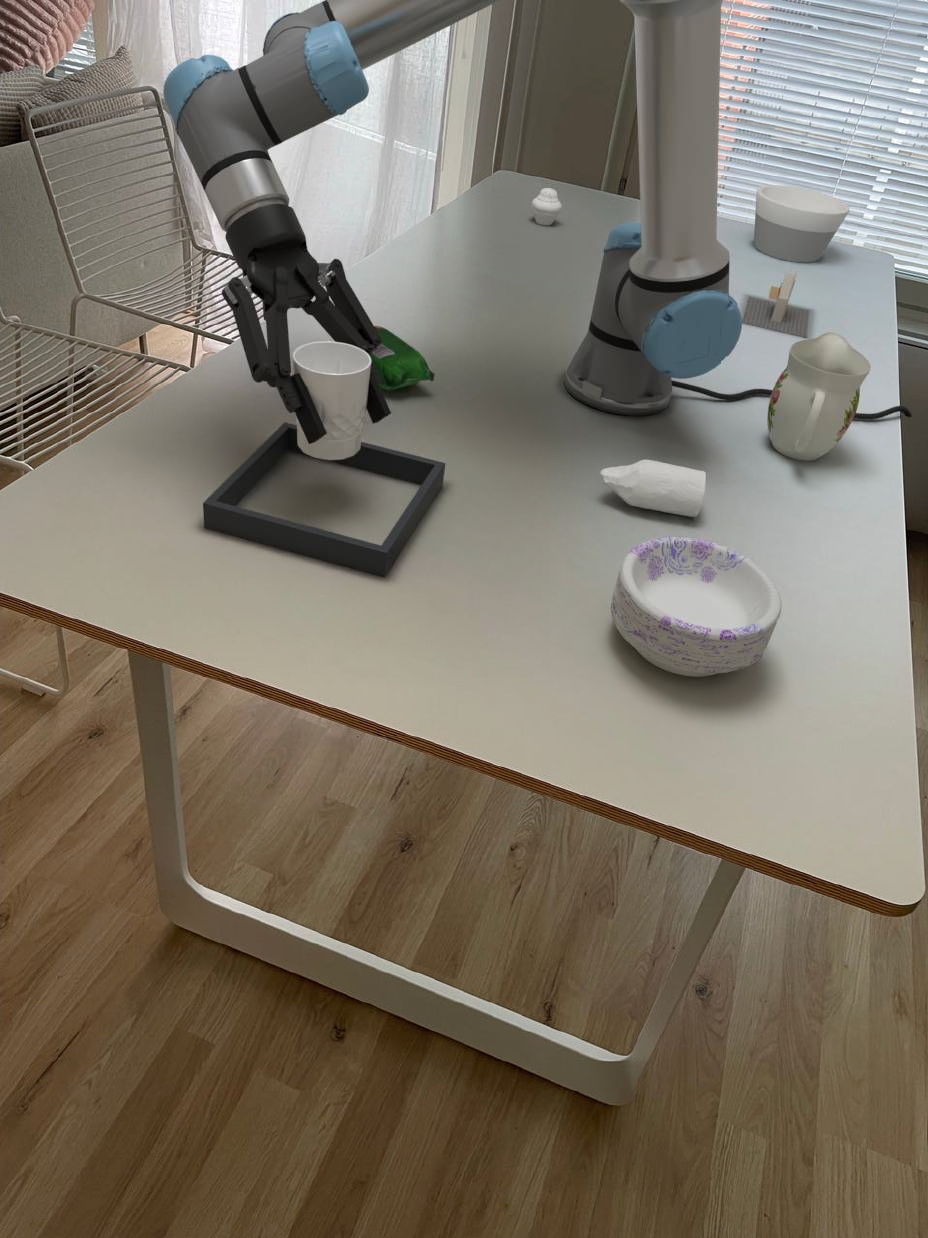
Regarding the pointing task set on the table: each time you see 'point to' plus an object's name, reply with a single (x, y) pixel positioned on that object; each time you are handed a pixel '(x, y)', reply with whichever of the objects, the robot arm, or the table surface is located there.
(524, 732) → the table surface
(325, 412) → the white cup
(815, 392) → the pitcher
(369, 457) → the dark grey square frame
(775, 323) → the architectural model
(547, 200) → the muffin
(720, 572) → the paper bowls
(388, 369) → the snack package
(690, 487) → the white tapered cylinder
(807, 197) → the bowl
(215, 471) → the table surface
